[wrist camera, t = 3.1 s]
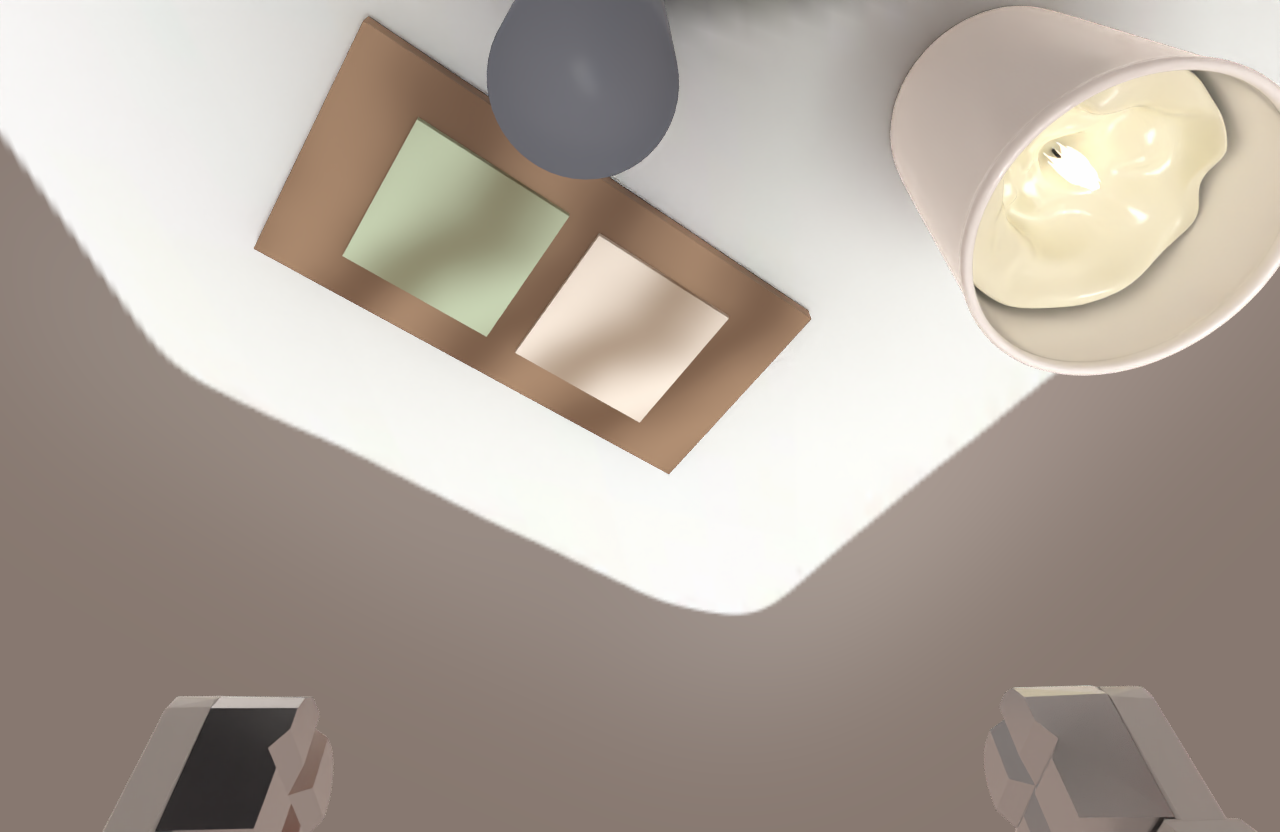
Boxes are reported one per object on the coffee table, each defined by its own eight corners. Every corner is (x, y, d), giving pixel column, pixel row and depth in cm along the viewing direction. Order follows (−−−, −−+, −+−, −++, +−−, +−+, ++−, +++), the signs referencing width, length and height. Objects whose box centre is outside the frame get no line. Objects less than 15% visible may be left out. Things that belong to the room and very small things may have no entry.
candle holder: (1151, -22, 32) (1381, 54, 22) (1079, 226, 38) (1238, 373, 28) (887, -16, 32) (1004, 63, 22) (855, 232, 38) (936, 381, 28)
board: (260, 240, 38) (251, 251, 37) (368, 16, 33) (361, 22, 32) (668, 464, 45) (669, 477, 44) (808, 310, 40) (812, 322, 39)
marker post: (664, -75, 31) (683, -18, 21) (659, 71, 34) (674, 180, 24) (524, -78, 31) (478, -22, 21) (531, 69, 34) (494, 178, 24)
